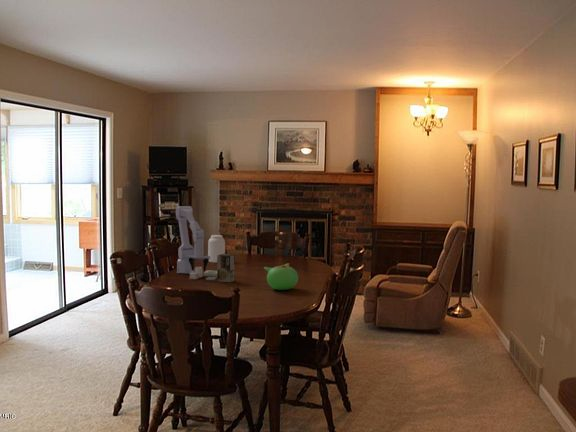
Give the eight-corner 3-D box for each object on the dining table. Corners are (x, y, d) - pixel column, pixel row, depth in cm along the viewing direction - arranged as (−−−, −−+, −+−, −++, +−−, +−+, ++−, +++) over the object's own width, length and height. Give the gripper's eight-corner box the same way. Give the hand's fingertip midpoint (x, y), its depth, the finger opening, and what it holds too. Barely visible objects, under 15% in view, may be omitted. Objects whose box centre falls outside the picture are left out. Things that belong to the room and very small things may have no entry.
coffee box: (234, 280, 312) (235, 254, 310) (230, 282, 305) (230, 256, 304) (221, 279, 315) (221, 253, 313) (216, 281, 308) (216, 255, 307)
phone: (204, 281, 311) (204, 279, 311) (208, 278, 319) (208, 276, 318) (214, 281, 310) (214, 279, 310) (217, 279, 318) (217, 277, 318)
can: (210, 259, 389) (211, 234, 388) (226, 260, 388) (226, 234, 386) (205, 262, 377) (206, 235, 376) (222, 263, 375) (222, 236, 374)
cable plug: (189, 279, 314) (189, 273, 314) (191, 277, 318) (191, 272, 318) (197, 279, 313) (197, 273, 313) (199, 278, 317) (199, 272, 317)
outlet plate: (203, 275, 325) (203, 272, 324) (207, 273, 334) (207, 270, 333) (221, 276, 323) (221, 273, 323) (224, 274, 332) (225, 271, 332)
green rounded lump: (272, 293, 278) (273, 267, 277) (261, 287, 294) (262, 262, 293) (302, 291, 285) (302, 265, 284) (290, 285, 301) (290, 261, 300)
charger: (194, 277, 320) (194, 267, 319) (196, 276, 324) (196, 266, 323) (200, 277, 319) (200, 268, 319) (202, 276, 323) (202, 266, 323)
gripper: (185, 249, 317) (185, 270, 318) (208, 250, 315) (208, 271, 316) (189, 248, 324) (189, 269, 325) (211, 248, 322) (211, 269, 323)
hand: (198, 270), depth 321 cm, fingers open, 7 cm apart
